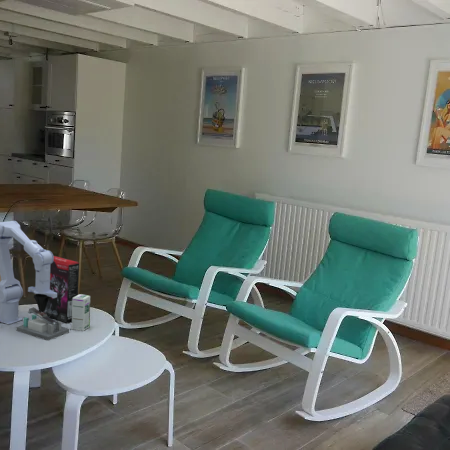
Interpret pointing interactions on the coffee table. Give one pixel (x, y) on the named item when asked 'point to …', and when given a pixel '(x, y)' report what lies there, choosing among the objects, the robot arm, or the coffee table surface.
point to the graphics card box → (62, 288)
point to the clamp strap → (42, 316)
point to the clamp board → (44, 334)
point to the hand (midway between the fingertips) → (42, 311)
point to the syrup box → (81, 312)
